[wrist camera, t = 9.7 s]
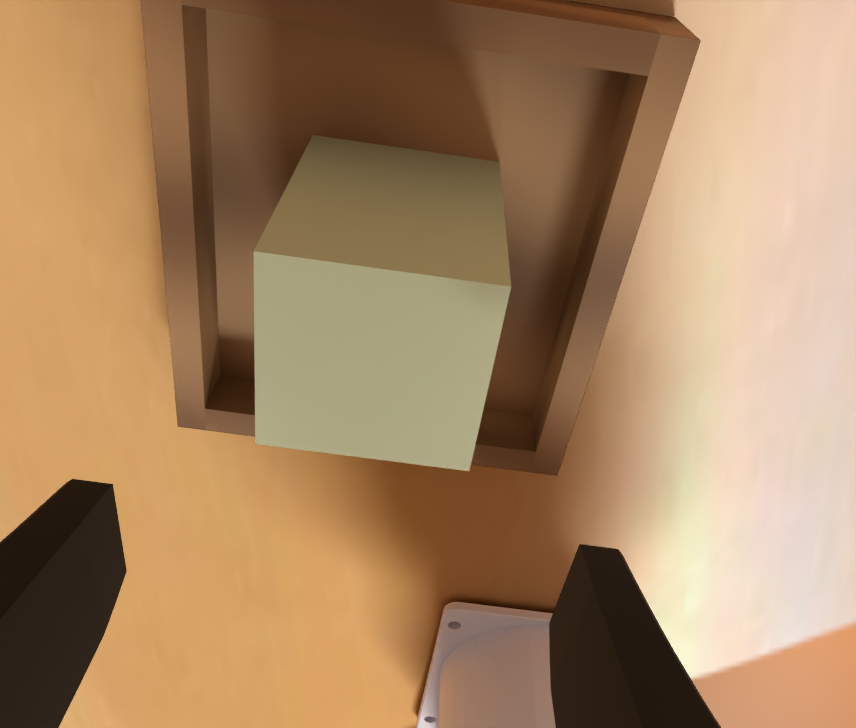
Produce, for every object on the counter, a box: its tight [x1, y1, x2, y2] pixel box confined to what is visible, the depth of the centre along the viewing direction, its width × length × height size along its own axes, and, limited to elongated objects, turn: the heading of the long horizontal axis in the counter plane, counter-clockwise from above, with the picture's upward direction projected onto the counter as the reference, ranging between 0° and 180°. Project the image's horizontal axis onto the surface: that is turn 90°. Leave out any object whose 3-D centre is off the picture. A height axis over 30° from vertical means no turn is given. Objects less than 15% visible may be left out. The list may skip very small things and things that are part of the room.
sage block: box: [254, 135, 511, 471], centre depth 17 cm, size 4×4×6 cm
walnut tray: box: [141, 0, 701, 476], centre depth 19 cm, size 12×11×2 cm
